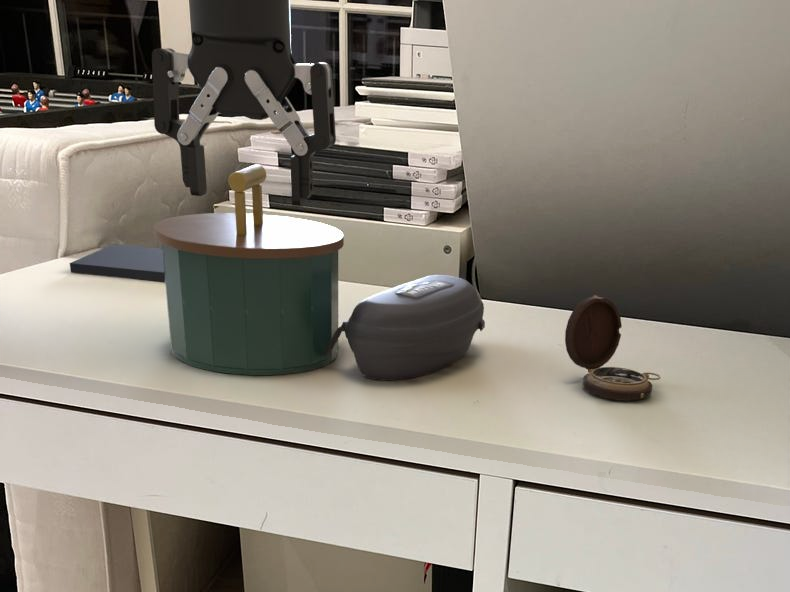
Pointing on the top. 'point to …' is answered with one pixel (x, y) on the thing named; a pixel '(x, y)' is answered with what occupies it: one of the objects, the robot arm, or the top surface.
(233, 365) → the toy tin
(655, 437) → the top surface
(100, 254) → the mat
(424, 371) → the glasses case
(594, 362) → the compass
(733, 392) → the top surface
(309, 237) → the lid
